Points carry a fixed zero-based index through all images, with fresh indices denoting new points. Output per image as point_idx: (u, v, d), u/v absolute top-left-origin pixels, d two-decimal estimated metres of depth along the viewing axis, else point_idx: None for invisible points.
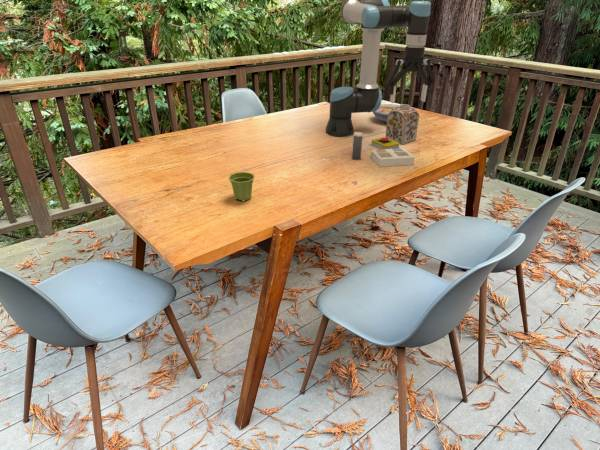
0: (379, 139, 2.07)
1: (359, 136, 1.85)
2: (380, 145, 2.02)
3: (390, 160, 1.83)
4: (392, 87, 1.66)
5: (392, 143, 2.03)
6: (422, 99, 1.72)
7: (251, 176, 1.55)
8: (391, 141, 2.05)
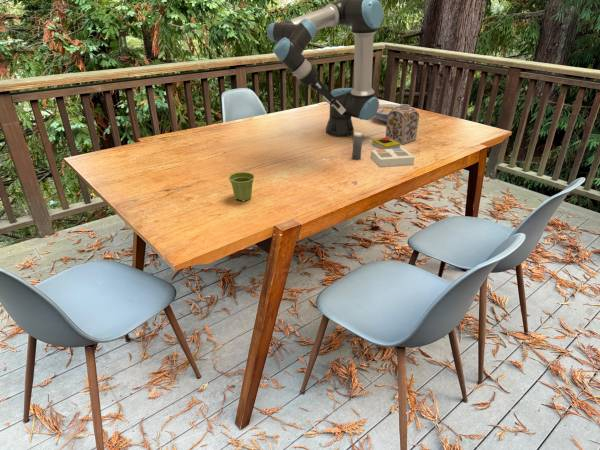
0: (380, 139, 2.08)
1: (359, 136, 1.85)
2: (380, 145, 2.02)
3: (390, 160, 1.83)
4: (323, 95, 1.82)
5: (393, 143, 2.02)
6: None
7: (251, 176, 1.55)
8: (392, 141, 2.05)
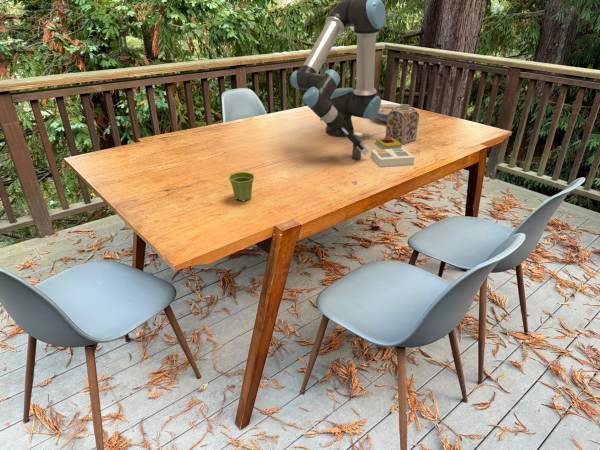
0: (384, 138, 2.08)
1: (359, 136, 1.85)
2: (381, 144, 2.03)
3: (390, 160, 1.83)
4: None
5: (394, 143, 2.02)
6: None
7: (251, 176, 1.55)
8: (394, 141, 2.05)
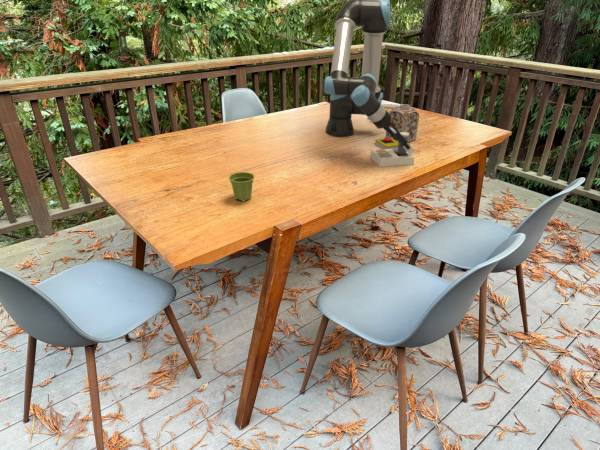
0: (383, 139, 2.08)
1: (405, 136, 1.82)
2: (381, 145, 2.02)
3: (390, 160, 1.83)
4: None
5: (394, 144, 2.02)
6: None
7: (251, 176, 1.55)
8: (394, 142, 2.04)
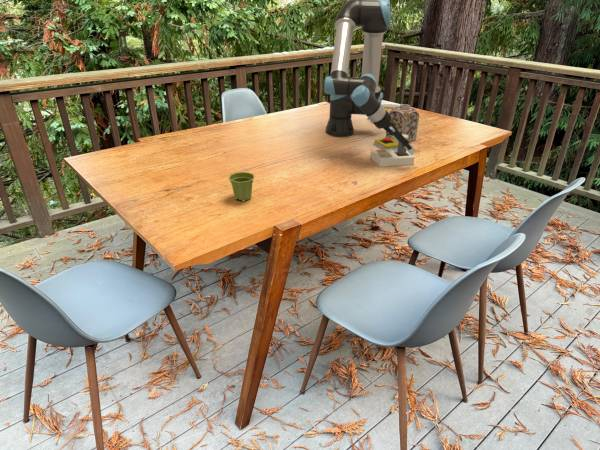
0: (383, 139, 2.07)
1: None
2: (381, 145, 2.02)
3: (390, 160, 1.83)
4: (391, 134, 1.91)
5: (394, 144, 2.02)
6: None
7: (251, 176, 1.55)
8: (394, 142, 2.04)
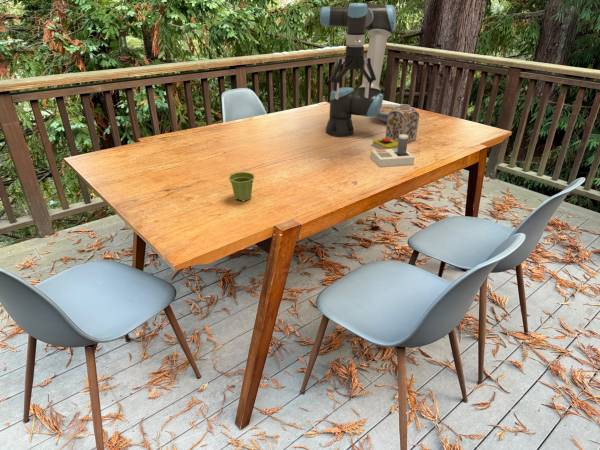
0: (380, 140, 2.07)
1: (405, 138, 1.82)
2: (381, 146, 2.01)
3: (390, 160, 1.83)
4: (335, 84, 1.76)
5: (393, 144, 2.02)
6: (365, 95, 1.82)
7: (251, 176, 1.55)
8: (392, 142, 2.04)
